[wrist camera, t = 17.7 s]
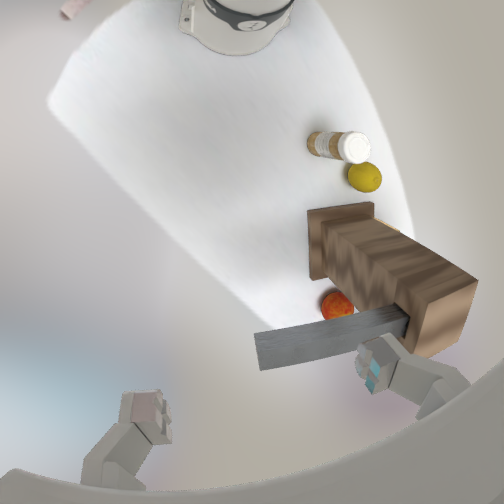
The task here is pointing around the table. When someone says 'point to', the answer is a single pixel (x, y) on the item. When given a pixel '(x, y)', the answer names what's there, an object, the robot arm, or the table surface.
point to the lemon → (364, 177)
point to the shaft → (328, 336)
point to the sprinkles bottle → (340, 146)
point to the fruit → (336, 306)
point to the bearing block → (390, 274)
